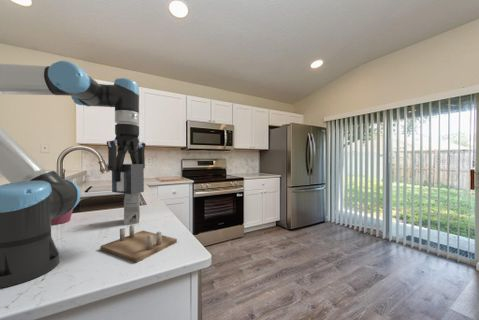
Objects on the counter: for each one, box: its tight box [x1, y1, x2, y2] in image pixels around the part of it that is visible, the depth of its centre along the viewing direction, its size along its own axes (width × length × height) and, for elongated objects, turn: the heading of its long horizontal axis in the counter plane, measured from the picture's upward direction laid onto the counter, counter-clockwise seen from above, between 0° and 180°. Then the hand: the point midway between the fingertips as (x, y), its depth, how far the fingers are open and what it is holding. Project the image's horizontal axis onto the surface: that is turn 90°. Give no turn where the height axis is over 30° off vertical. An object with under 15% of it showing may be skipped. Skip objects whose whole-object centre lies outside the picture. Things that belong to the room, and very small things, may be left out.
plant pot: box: [51, 208, 74, 226], centre depth 94 cm, size 14×14×13 cm
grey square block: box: [111, 163, 145, 194], centre depth 72 cm, size 5×10×10 cm, turn 65°
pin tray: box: [99, 224, 178, 264], centre depth 70 cm, size 16×18×5 cm
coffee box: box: [123, 192, 141, 226], centre depth 96 cm, size 9×6×16 cm
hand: (127, 189), depth 72 cm, fingers closed on grey square block, 5 cm apart
